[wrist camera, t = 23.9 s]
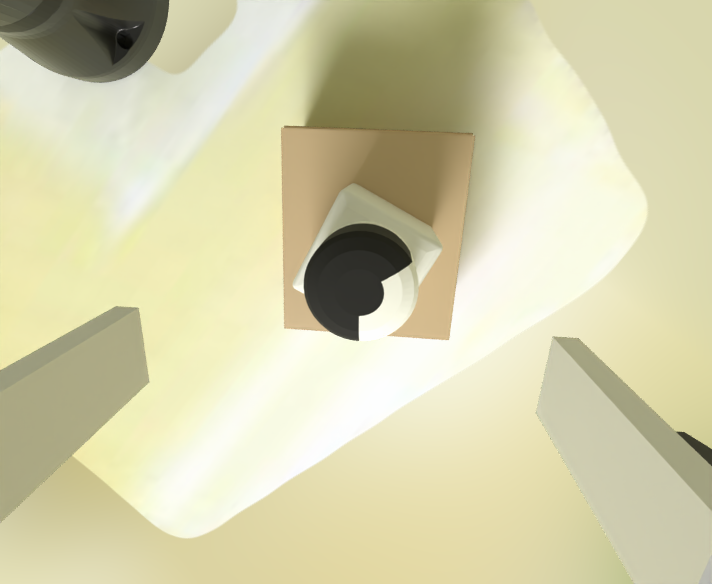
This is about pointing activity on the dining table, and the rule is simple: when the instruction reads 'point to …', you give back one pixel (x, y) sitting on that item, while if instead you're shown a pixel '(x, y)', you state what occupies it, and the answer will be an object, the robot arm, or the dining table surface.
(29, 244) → the dining table surface
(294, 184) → the lid
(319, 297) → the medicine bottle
